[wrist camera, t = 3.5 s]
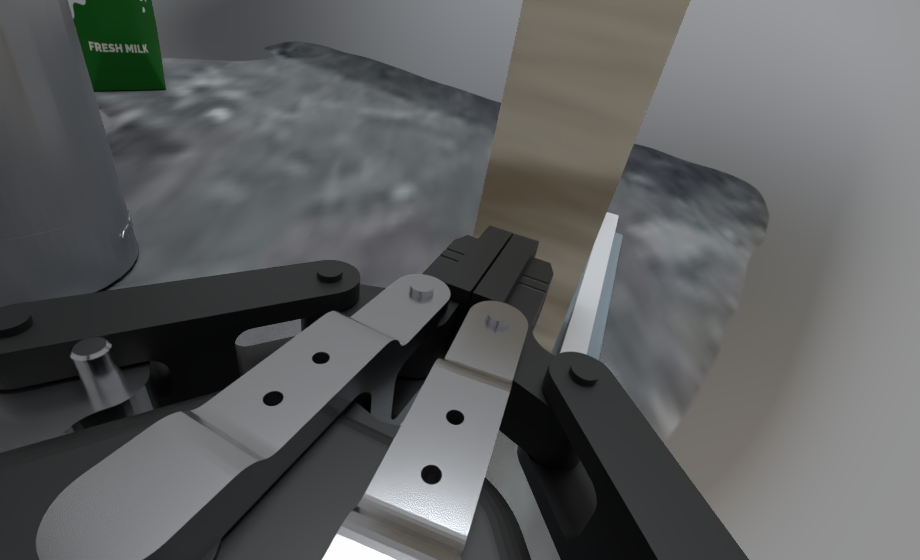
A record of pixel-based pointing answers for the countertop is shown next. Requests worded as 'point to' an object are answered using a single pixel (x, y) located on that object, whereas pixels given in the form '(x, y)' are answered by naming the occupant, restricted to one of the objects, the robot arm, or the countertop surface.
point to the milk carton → (119, 44)
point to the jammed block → (572, 128)
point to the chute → (592, 295)
